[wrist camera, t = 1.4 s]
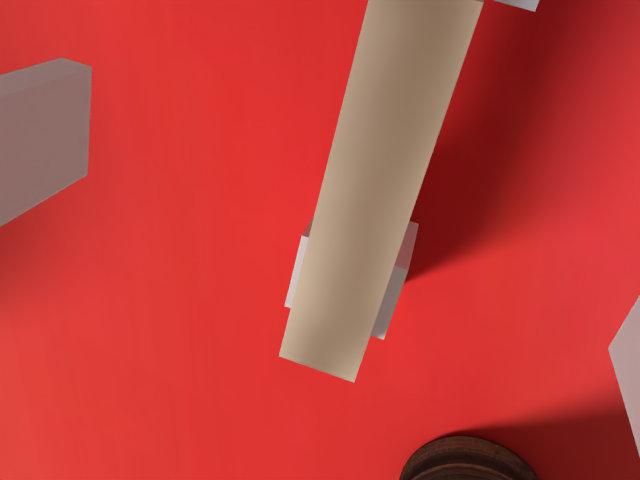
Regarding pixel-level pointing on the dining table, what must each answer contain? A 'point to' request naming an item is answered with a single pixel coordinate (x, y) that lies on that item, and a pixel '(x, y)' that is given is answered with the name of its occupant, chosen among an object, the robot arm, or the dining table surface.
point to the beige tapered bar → (376, 173)
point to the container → (465, 461)
